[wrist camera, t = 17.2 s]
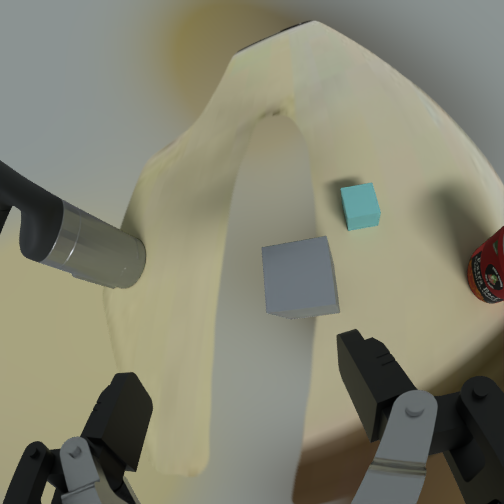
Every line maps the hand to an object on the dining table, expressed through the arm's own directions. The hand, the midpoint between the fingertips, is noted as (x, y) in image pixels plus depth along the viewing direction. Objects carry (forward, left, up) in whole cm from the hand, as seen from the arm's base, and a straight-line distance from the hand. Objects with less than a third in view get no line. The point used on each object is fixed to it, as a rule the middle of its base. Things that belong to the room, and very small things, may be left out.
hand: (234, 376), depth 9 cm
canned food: (+25, -4, -23) cm, 34 cm away
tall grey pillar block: (+3, +6, -23) cm, 24 cm away
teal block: (+13, +12, -23) cm, 29 cm away
